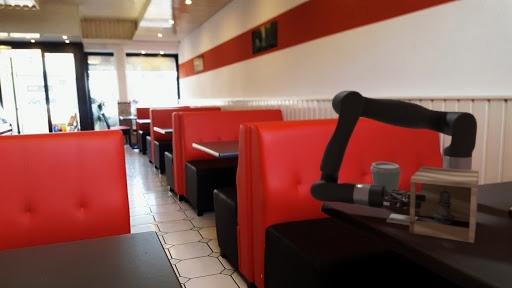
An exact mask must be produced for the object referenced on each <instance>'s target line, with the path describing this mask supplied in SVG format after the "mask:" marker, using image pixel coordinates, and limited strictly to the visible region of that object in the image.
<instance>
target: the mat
mask: <svg viewBox="0 0 512 288" xmlns="http://www.w3.org/2000/svg"><path fill="white" fill-rule="evenodd" d="M418 217H419V216H415V220H416V221H418ZM386 223H393V224H398V225H400V224H401V225H406V226H410V215H405V214H397V213H391V214H390V215H389V217H388V218H387V219H386Z"/></svg>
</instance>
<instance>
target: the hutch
mask: <svg viewBox="0 0 512 288" xmlns="http://www.w3.org/2000/svg"><path fill="white" fill-rule="evenodd" d="M479 173H480V171H479V170H474V169H472V170H463V169H448V168H443V167H432V166H421V167H419V168H418V169H417V171H416V172H414V174H413V175H412V176H411V177H410V190H409V191H410V208H409V216H410V225H409V230H408V231H409V232H408V233H410V234H414V235H422V236H430V237H434V238H442V239H447V240H454V241H461V242H465V243H466V242H467V243H472V244H474V243H475V236H476V230H477V229H476V227H477V226H476V225H477V214H478V212H477V211H478V196H479V194H478V193H479V176H480V175H479ZM417 183H419V186H420V187H419V194H421V195H425V196H426V200H425V202H421V208H420V209H419V216H422V217H429V218H434V216H433V214H434V213H437V212H438V210H439V204H438V202H439V195H440V192H441V191H444V189H446V191H447V192H449V193H450V203H451V205H450V213H451V214H452V215H454V216H455V218H454V221H457V222H458V221H459V222H464V223H465V222H466V223H469V227H464V226H457V225H451V224H449V225H444V224H437V222H429V221H422V220H421V221H420V220H415V217H416V209H415V198H416V194H417V192H416V191H417Z"/></svg>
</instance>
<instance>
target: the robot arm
mask: <svg viewBox="0 0 512 288" xmlns="http://www.w3.org/2000/svg"><path fill="white" fill-rule="evenodd" d="M331 106H332V107H331V108H332V110H333V111H334V112H335V114H337V115H338V116H337V123H336V126H335V129H334V131H333V133H332V135H331V137H330V138H329V141H328V142H327V144H326V146H325V148H324V152H323V154H322V158H321V162H320V165H319V171H320V172H321V174H320V178H319V180H317V181H315V182H314V183H312V184H311V186H310V188H309V192H310V195H311V197H312V198H313V199H314V200H315V201H319V202H324V203H325V202H327V203H341V204H348V205H355V206H360V207H366V208H372V209H381V210H383V209H385V208H387V209H394V210H395V209H396V210H401V211H403V210H404V209H410V191H411V190H403V189H402V190H401V189H398V190H393V191H392V192H387V189H386V187H385V186H382V185H374V184H370V183H352V182H340V183H339V174H340V171H341V167H342V165H343V161H344V157H345V155H346V151H347V148H348V146H349V142H350V139H351V138H352V135H353V133H354V131H355V128H356V126H357V125H358V122H359V120H360V118H364V119H368V120H373V121H375V122H379V123H382V124H385V125H389V126H393V127H397V128H403V129H411V130H429V131H432V132H435V133H439V134H442V135H445V136H448V137H451V138H450V143H449V145H448V146H445V147H444V148H443V151H442V152H443V153H442V154H443V157H442V168H448V169H463V170H473V166H472V164H473V152H474V150H475V148H476V143H477V134H478V121H477V118H476V117H475V115H474V114H472V113H470V112H467V111H445V110H444V111H443V110H434V109H430V108H427V107H425V106H422V105H420V104H418V103H415V102H410V101H405V100H399V99H391V98H389V99H388V98H374V97H367V96H363V94H362V93H360V92H359V91H356V90H342V91H340V92H338V93H337V94H335V95H334V96H333V98H332V100H331ZM425 200H426V196H425V195H421V194H420V193H416V198H415V210H420V208H421V202H425Z"/></svg>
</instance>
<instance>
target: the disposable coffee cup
mask: <svg viewBox="0 0 512 288" xmlns="http://www.w3.org/2000/svg"><path fill="white" fill-rule="evenodd" d="M370 171H371V176H372V183H373V184H372V185H382V186H385V187H386V189H387V192H392V191H393V190H399V183H400V176H401V171H402V168H401V167H400V166H399V164H396V163H394V162H388V161H375V162H372V163H371V166H370Z"/></svg>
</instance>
